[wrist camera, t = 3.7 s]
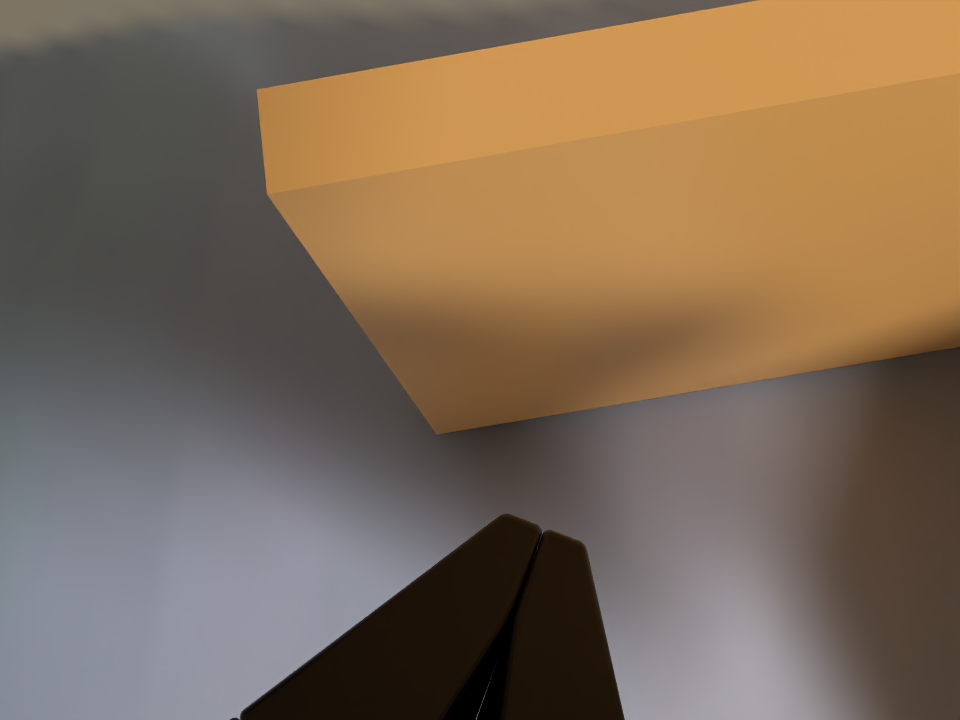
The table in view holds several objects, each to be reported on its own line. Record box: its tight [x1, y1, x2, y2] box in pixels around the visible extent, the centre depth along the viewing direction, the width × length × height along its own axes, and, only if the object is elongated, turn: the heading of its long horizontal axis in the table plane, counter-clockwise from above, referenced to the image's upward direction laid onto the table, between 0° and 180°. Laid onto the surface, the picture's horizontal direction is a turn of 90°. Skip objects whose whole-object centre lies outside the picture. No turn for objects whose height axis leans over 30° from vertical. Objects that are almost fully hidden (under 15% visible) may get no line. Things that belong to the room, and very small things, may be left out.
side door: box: [257, 0, 960, 434], centre depth 10 cm, size 14×1×10 cm, turn 99°
